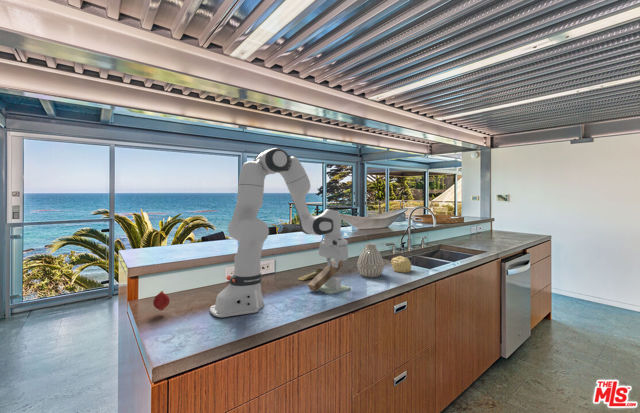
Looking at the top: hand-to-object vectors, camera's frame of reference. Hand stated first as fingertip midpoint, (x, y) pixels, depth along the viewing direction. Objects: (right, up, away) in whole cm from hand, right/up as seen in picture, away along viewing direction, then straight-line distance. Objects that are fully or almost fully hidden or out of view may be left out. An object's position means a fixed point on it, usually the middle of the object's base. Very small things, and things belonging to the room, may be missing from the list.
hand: (332, 266), depth 152 cm
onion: (-72, -12, -32) cm, 80 cm away
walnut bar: (-2, -4, -2) cm, 5 cm away
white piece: (0, -11, 0) cm, 11 cm away
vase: (+24, -12, +26) cm, 37 cm away
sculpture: (+46, -12, +37) cm, 60 cm away
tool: (-6, -13, +20) cm, 25 cm away
